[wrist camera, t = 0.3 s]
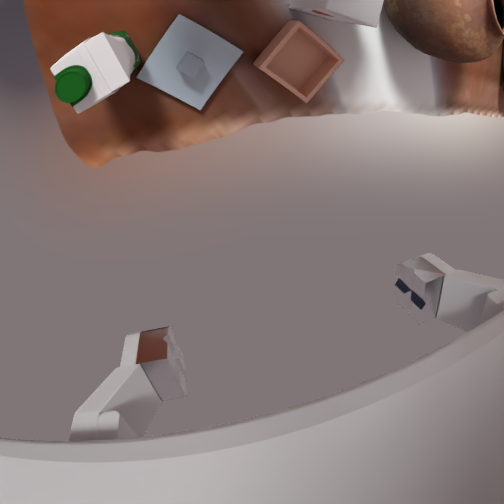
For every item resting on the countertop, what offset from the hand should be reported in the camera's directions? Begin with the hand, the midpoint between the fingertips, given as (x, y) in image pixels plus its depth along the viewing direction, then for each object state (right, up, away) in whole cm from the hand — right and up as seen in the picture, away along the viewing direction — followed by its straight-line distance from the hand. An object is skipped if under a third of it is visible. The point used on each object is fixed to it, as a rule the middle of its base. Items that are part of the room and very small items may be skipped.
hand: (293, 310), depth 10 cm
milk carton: (-24, +35, +31) cm, 52 cm away
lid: (-12, +34, +35) cm, 50 cm away
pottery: (+31, +53, +31) cm, 69 cm away
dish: (+6, +37, +38) cm, 53 cm away
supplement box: (+10, +47, +30) cm, 57 cm away
